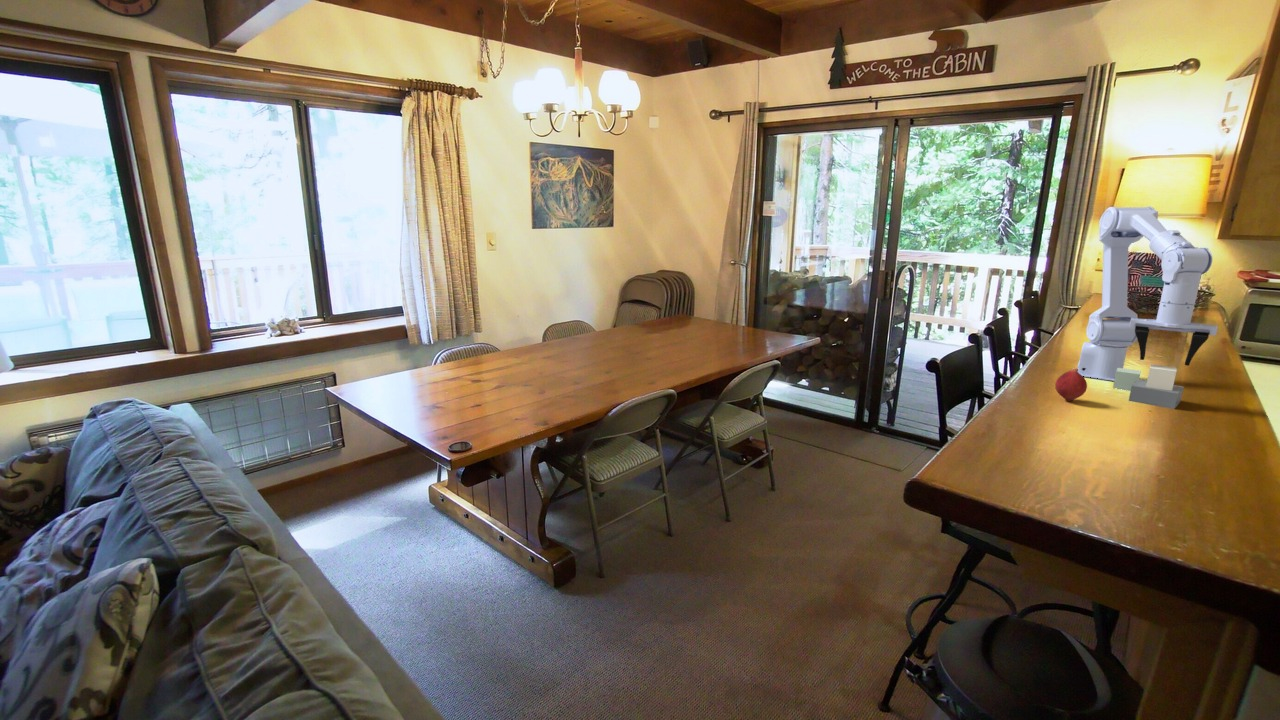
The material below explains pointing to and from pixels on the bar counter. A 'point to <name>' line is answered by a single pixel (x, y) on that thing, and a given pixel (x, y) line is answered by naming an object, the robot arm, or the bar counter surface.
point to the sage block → (1126, 378)
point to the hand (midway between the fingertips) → (1164, 361)
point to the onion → (1071, 385)
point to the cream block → (1161, 377)
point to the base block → (1155, 395)
